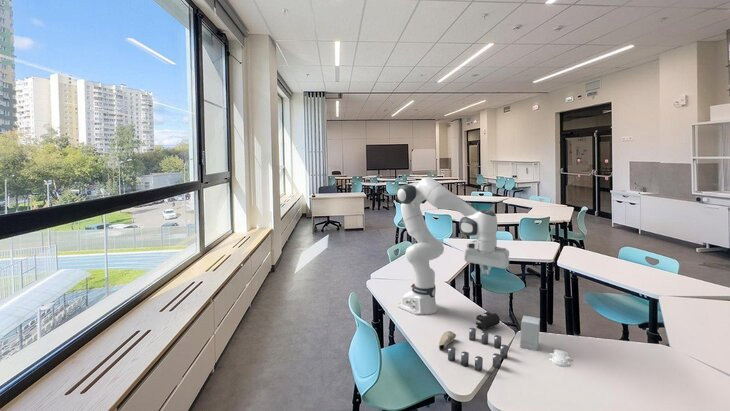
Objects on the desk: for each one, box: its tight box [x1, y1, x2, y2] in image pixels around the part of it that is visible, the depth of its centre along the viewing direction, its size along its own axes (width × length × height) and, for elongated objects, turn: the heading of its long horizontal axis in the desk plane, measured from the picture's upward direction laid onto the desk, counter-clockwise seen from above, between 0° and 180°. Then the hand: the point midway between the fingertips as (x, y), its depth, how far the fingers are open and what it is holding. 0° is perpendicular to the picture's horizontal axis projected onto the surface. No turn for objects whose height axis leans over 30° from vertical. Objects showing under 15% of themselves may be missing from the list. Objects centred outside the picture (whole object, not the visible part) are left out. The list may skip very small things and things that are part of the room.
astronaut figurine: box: [548, 349, 573, 368], centre depth 163 cm, size 9×12×3 cm
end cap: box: [475, 311, 501, 332], centre depth 192 cm, size 10×7×7 cm
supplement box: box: [519, 315, 541, 352], centre depth 174 cm, size 7×7×13 cm
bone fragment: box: [438, 330, 457, 351], centre depth 177 cm, size 14×6×5 cm, turn 148°
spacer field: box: [447, 327, 509, 372], centre depth 167 cm, size 20×25×5 cm
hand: (485, 274), depth 179 cm, fingers closed
